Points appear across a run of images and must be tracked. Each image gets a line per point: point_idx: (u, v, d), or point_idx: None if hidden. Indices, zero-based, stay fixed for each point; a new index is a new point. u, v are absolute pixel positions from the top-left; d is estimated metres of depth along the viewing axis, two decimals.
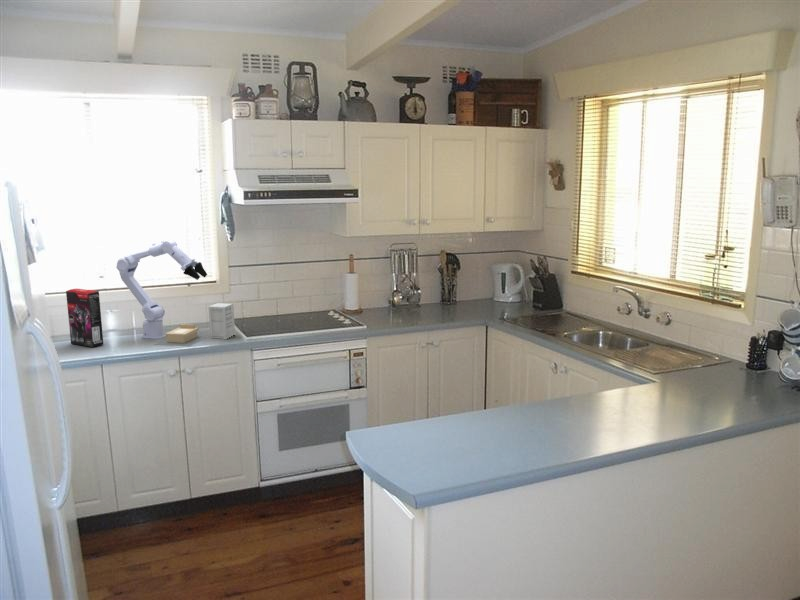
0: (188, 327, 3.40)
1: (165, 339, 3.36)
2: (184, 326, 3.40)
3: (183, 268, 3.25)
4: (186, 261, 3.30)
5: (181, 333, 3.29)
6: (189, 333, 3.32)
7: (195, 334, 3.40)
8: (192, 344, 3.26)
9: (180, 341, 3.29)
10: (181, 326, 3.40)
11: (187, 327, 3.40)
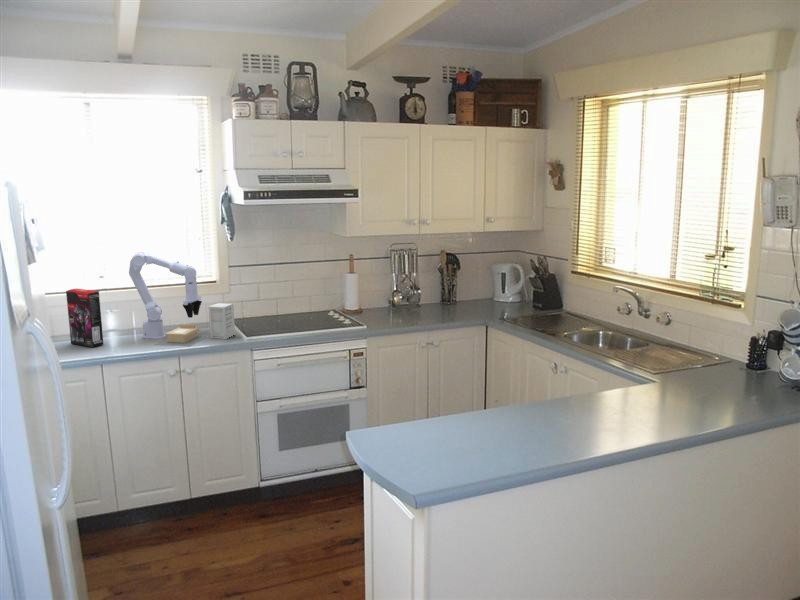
0: (188, 327, 3.40)
1: (165, 339, 3.36)
2: (184, 326, 3.40)
3: (185, 303, 3.37)
4: (192, 297, 3.41)
5: (181, 333, 3.29)
6: (189, 333, 3.32)
7: (195, 334, 3.40)
8: (192, 344, 3.26)
9: (180, 341, 3.29)
10: (181, 326, 3.40)
11: (187, 327, 3.40)
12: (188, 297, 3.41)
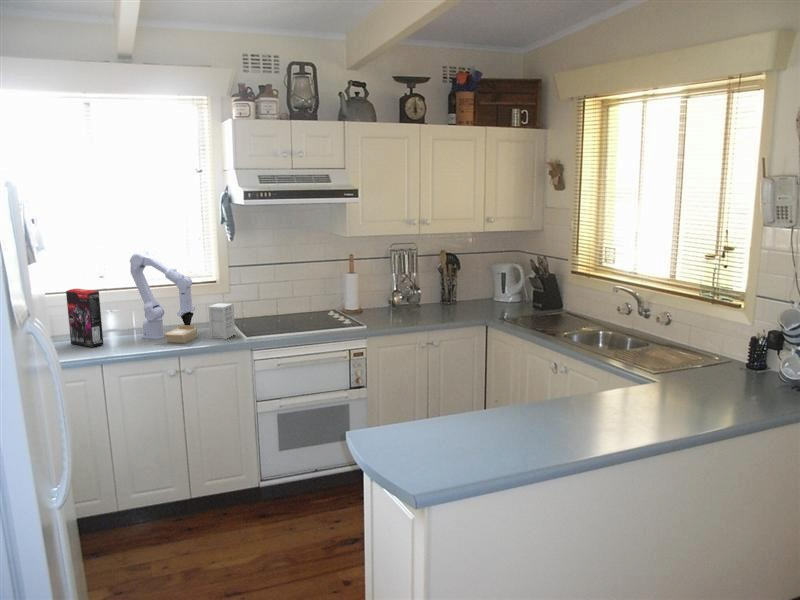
0: (187, 328, 3.38)
1: (165, 339, 3.36)
2: (183, 327, 3.39)
3: (179, 314, 3.32)
4: (186, 308, 3.36)
5: (179, 334, 3.28)
6: (188, 334, 3.31)
7: (195, 334, 3.40)
8: (192, 344, 3.26)
9: (180, 341, 3.29)
10: (180, 327, 3.39)
11: (186, 328, 3.39)
12: (182, 308, 3.36)
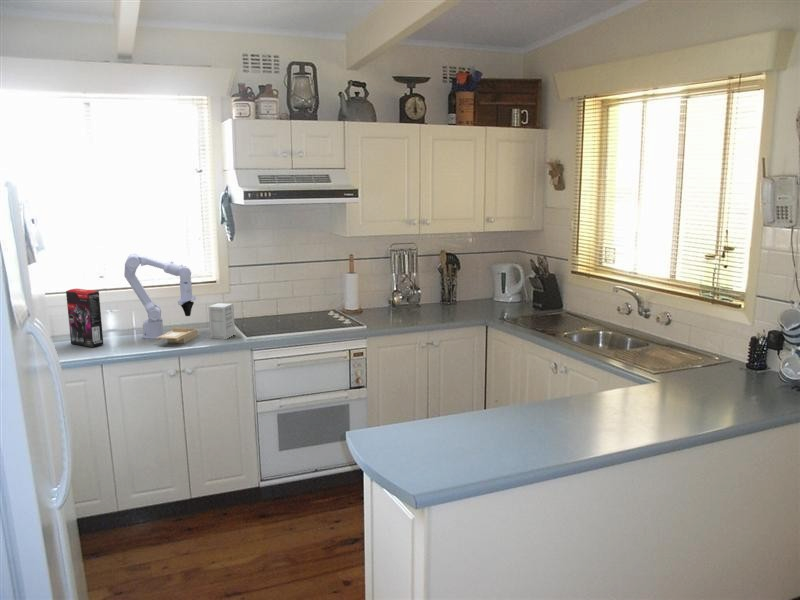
0: (181, 330, 3.33)
1: (165, 339, 3.36)
2: (177, 329, 3.33)
3: (179, 303, 3.38)
4: (187, 297, 3.42)
5: (173, 337, 3.22)
6: (181, 337, 3.25)
7: (195, 334, 3.40)
8: (192, 344, 3.26)
9: (180, 341, 3.29)
10: (173, 329, 3.33)
11: (180, 330, 3.33)
12: (183, 297, 3.42)
